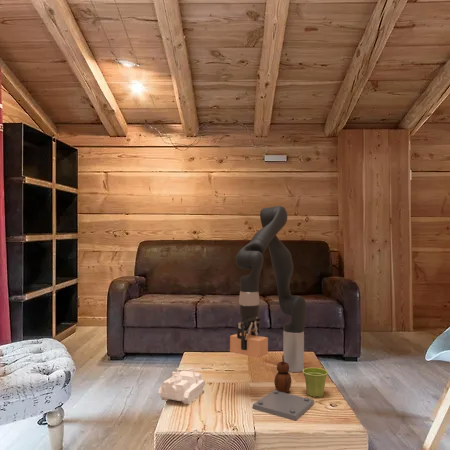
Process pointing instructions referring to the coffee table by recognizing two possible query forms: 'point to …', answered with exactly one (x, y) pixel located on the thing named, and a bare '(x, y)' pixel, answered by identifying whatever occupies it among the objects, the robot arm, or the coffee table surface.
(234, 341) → the brick
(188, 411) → the coffee table surface
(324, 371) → the plant pot
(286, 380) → the wooden figurine
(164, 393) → the toy tank
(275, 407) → the baseplate
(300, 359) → the robot arm
